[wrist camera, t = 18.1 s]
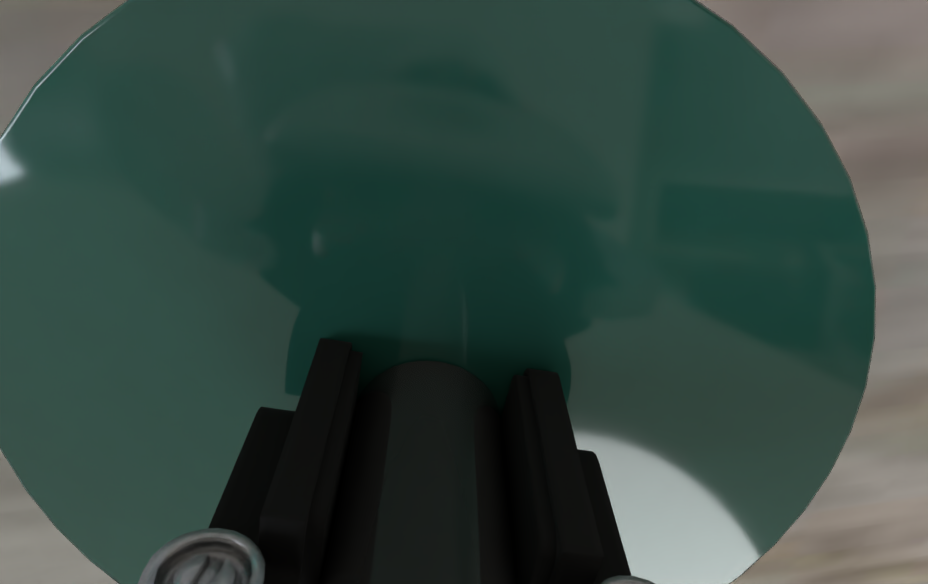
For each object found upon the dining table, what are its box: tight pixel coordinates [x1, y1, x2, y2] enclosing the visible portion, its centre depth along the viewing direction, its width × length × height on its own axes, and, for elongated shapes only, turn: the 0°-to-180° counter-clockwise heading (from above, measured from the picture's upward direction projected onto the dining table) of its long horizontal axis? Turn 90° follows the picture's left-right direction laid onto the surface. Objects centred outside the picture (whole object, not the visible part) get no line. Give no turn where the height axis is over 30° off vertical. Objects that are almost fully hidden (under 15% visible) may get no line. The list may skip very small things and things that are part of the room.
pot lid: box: [0, 0, 876, 584], centre depth 10 cm, size 16×16×6 cm
